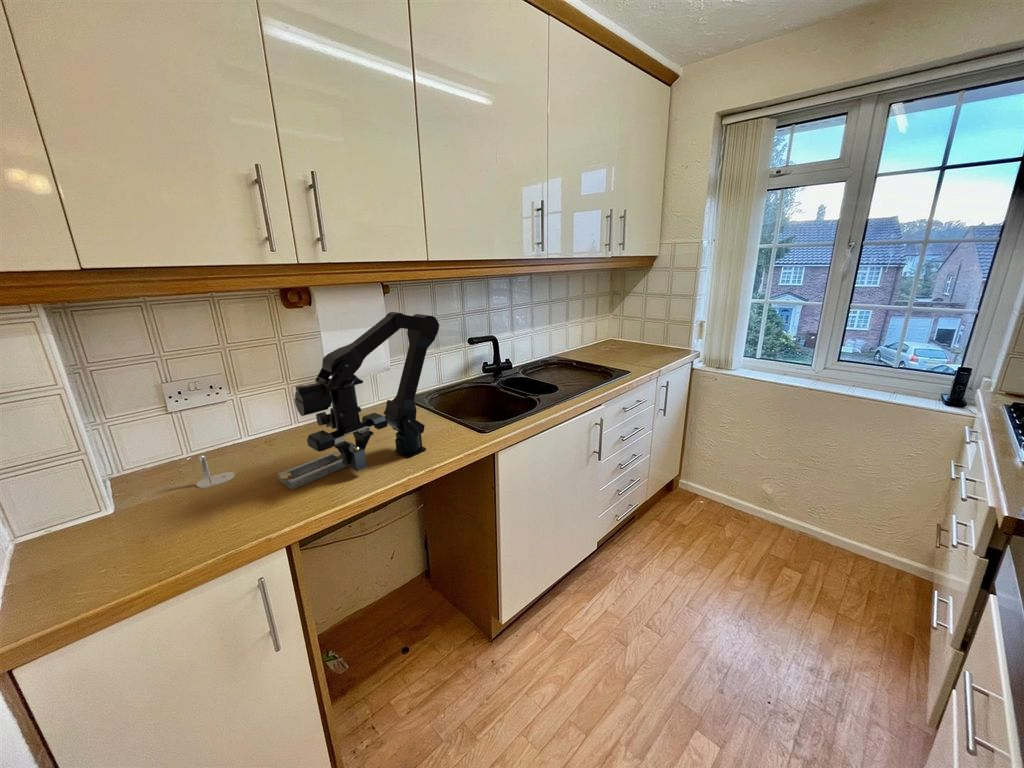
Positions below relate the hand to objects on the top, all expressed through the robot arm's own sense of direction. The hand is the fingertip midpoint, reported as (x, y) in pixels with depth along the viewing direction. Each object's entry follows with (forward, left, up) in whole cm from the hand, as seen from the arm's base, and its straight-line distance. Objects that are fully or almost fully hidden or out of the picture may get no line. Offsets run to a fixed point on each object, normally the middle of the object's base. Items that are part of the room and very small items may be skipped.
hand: (354, 461), depth 105 cm
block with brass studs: (0, 0, -1) cm, 1 cm away
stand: (+24, -26, -4) cm, 35 cm away
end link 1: (+9, -9, -3) cm, 13 cm away
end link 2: (+1, -9, -3) cm, 9 cm away
